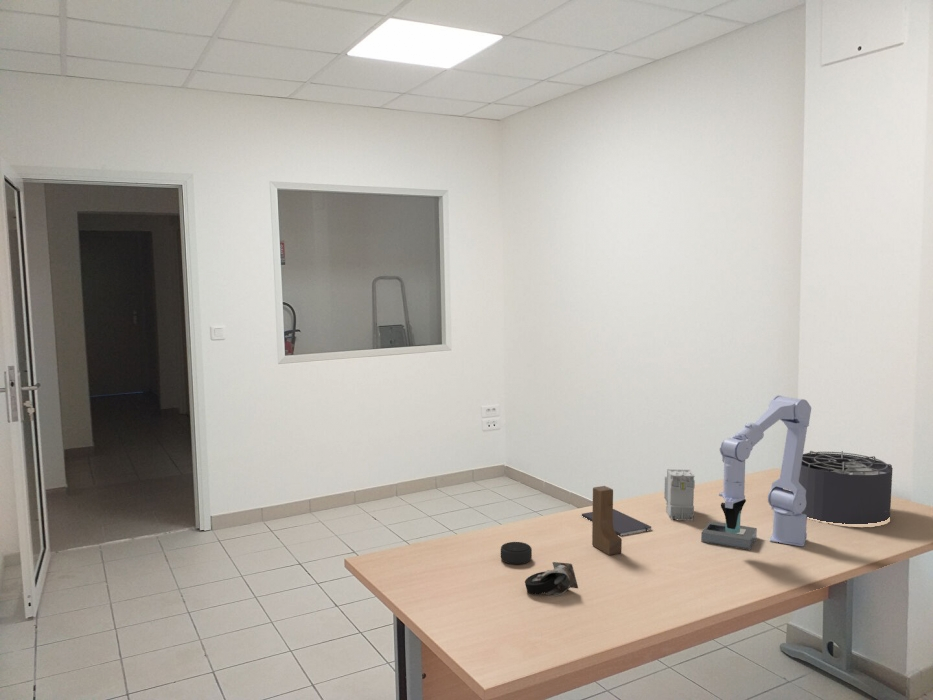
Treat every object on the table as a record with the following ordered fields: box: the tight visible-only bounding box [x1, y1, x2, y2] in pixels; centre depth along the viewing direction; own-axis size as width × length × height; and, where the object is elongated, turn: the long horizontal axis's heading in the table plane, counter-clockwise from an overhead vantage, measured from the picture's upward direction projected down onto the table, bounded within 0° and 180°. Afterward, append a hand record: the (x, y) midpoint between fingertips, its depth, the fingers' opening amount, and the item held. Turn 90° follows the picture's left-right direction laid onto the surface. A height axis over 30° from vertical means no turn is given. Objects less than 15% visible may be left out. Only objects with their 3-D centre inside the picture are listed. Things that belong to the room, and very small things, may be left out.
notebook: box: [581, 508, 653, 537], centre depth 241 cm, size 13×2×21 cm
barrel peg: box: [725, 511, 742, 533], centre depth 213 cm, size 4×4×6 cm
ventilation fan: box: [799, 450, 893, 524], centre depth 249 cm, size 30×18×30 cm
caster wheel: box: [524, 561, 579, 597], centre depth 189 cm, size 7×11×10 cm
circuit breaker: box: [663, 468, 696, 521], centre depth 250 cm, size 8×14×15 cm, turn 174°
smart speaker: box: [500, 541, 533, 565], centre depth 211 cm, size 9×9×4 cm
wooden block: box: [591, 485, 623, 556], centre depth 217 cm, size 9×4×18 cm, turn 24°
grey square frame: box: [700, 520, 758, 550], centre depth 225 cm, size 14×12×3 cm
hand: (732, 525), depth 213 cm, fingers closed on barrel peg, 4 cm apart
